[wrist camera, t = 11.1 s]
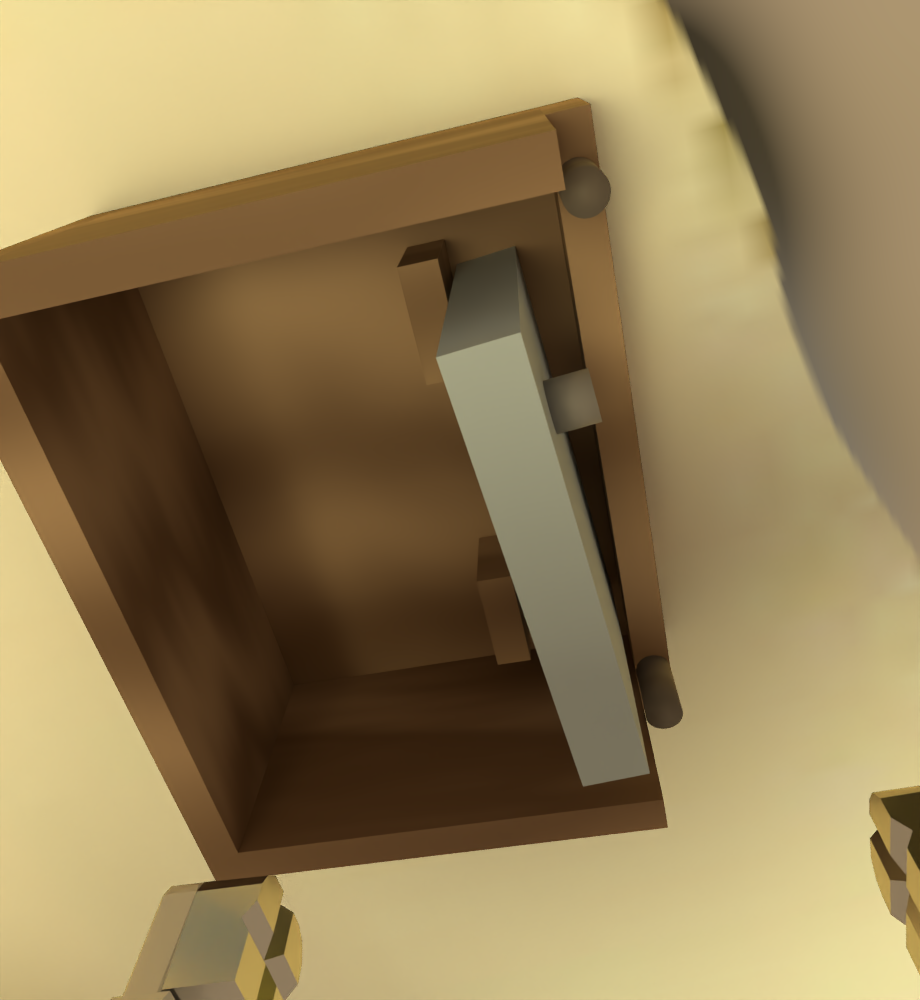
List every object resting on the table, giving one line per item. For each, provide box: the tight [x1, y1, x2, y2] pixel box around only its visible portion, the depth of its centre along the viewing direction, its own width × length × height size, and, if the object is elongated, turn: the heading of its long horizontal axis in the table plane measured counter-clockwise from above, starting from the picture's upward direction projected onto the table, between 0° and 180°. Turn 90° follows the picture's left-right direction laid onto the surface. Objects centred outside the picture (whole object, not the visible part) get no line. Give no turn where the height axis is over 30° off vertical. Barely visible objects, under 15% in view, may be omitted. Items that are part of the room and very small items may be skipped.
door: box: [436, 246, 650, 787], centre depth 21 cm, size 11×3×8 cm, turn 18°
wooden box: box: [0, 98, 683, 881], centre depth 23 cm, size 17×14×8 cm
